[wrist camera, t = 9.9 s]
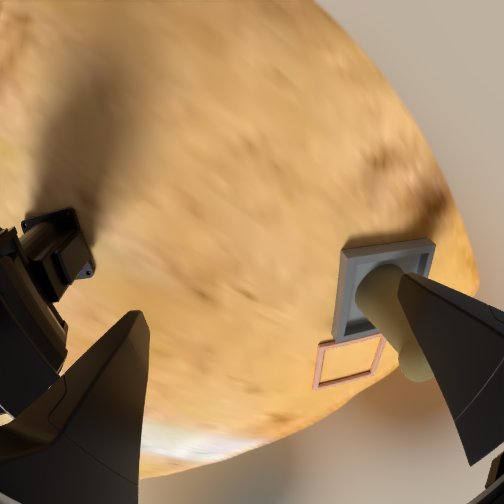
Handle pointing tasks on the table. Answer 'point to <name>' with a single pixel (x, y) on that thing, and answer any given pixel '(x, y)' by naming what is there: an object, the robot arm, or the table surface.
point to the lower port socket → (358, 266)
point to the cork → (392, 319)
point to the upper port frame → (334, 345)
